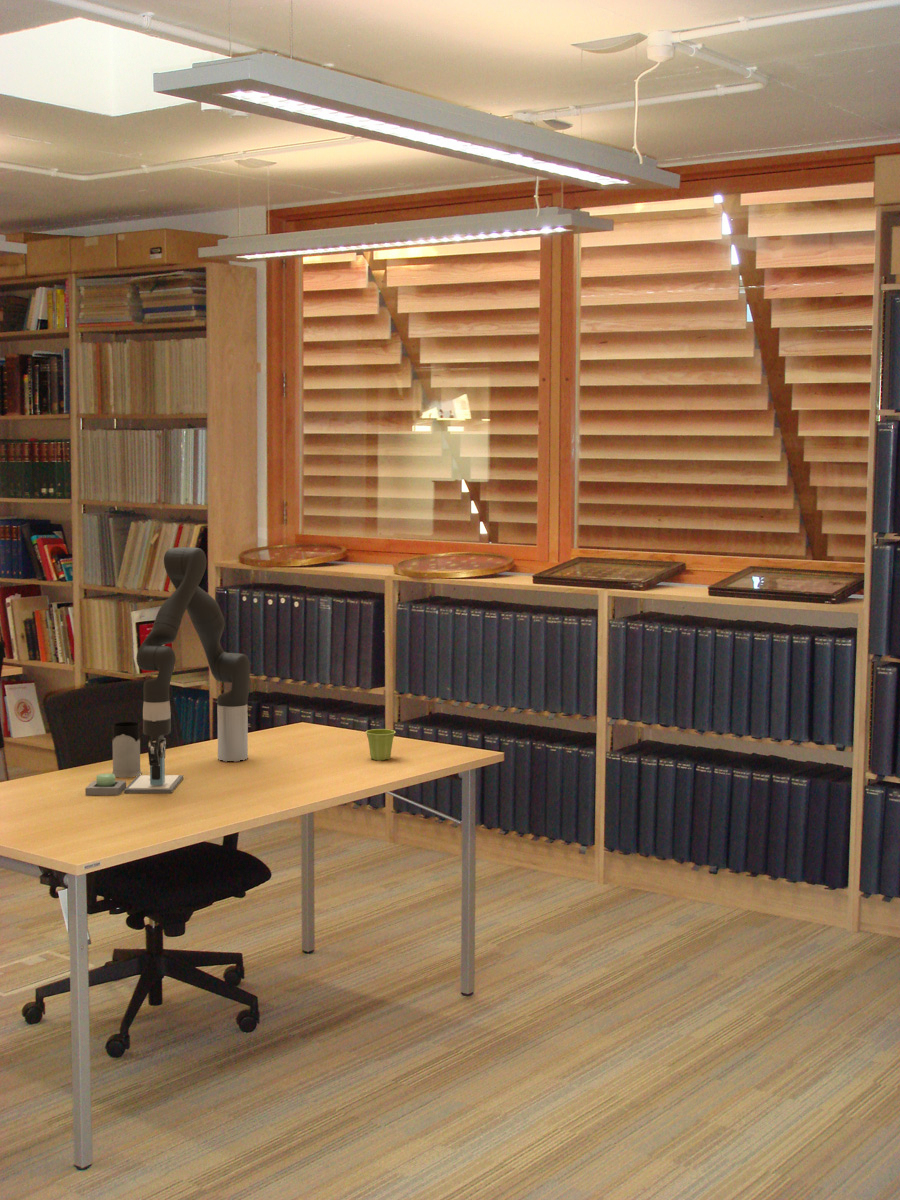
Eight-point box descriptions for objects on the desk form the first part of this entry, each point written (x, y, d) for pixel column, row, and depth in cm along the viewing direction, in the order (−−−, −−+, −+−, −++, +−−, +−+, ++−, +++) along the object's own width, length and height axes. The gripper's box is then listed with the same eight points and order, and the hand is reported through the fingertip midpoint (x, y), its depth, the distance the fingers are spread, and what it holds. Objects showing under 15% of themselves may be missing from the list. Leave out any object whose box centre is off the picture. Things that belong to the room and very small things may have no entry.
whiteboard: (138, 778, 373) (138, 774, 372) (183, 778, 373) (183, 774, 373) (124, 793, 355) (124, 788, 355) (171, 793, 355) (171, 788, 355)
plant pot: (367, 755, 407) (367, 728, 406) (396, 756, 407) (396, 729, 406) (363, 761, 398) (364, 734, 397) (394, 762, 397) (394, 734, 397)
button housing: (93, 787, 361) (93, 780, 361) (125, 787, 361) (125, 780, 361) (85, 795, 352) (85, 788, 352) (118, 795, 352) (118, 788, 352)
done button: (99, 782, 359) (98, 773, 359) (117, 782, 359) (116, 773, 359) (94, 786, 354) (94, 777, 354) (112, 786, 354) (112, 777, 354)
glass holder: (108, 777, 373) (107, 726, 372) (119, 767, 387) (119, 718, 386) (138, 777, 373) (137, 727, 372) (148, 767, 388) (148, 718, 386)
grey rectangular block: (152, 782, 361) (152, 750, 360) (165, 782, 361) (164, 750, 360) (149, 784, 357) (149, 753, 356) (162, 784, 357) (162, 753, 356)
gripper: (148, 712, 364) (149, 772, 366) (137, 721, 350) (138, 783, 351) (175, 712, 364) (175, 772, 366) (165, 721, 350) (166, 783, 352)
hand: (157, 777), depth 359 cm, fingers closed on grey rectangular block, 3 cm apart
